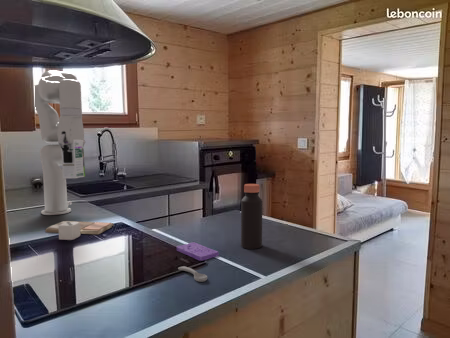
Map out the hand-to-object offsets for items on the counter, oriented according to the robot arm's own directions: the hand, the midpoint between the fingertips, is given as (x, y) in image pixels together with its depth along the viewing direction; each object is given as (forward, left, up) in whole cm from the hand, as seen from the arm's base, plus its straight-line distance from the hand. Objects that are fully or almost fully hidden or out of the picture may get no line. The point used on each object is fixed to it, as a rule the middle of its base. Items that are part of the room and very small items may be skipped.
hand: (73, 161), depth 133 cm
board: (0, +2, -26) cm, 26 cm away
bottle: (+12, +68, -26) cm, 74 cm away
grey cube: (+11, +4, -26) cm, 28 cm away
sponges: (+21, +52, -27) cm, 62 cm away
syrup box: (0, 0, -6) cm, 6 cm away
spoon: (+37, +55, -27) cm, 72 cm away
